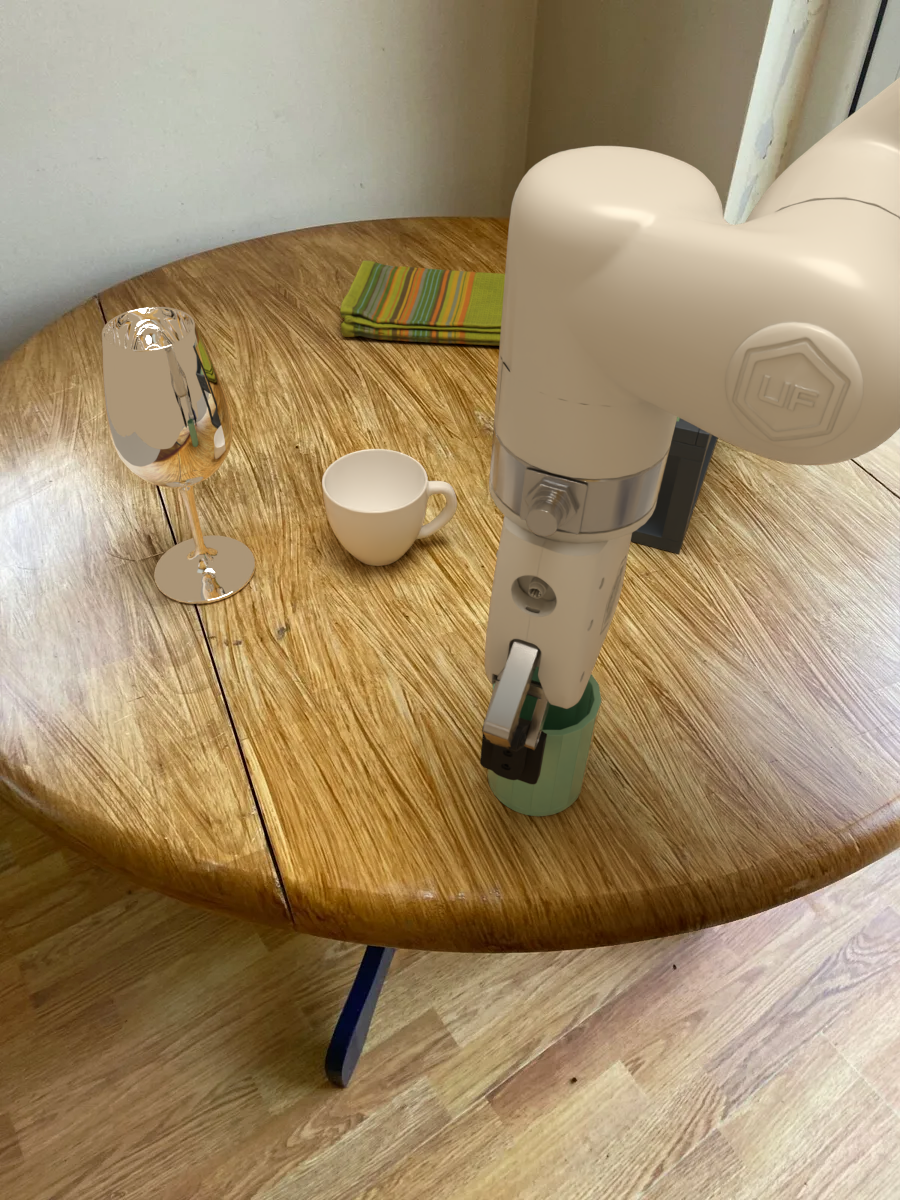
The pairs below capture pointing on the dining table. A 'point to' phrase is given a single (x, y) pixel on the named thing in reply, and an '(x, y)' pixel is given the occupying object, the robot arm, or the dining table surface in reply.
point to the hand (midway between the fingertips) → (537, 706)
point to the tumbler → (555, 756)
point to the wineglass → (173, 438)
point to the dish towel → (424, 305)
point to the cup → (381, 504)
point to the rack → (678, 488)
